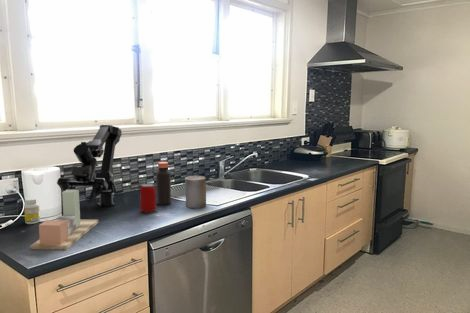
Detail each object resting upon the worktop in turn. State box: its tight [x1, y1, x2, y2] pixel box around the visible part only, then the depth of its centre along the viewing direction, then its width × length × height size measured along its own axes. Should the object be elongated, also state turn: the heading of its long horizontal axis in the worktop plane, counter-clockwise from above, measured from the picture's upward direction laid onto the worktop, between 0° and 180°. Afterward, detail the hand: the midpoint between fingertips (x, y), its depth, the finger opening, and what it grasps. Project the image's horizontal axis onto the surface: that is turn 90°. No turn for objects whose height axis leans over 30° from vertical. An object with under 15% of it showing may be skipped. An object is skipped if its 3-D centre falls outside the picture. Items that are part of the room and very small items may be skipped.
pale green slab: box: [61, 189, 81, 228], centre depth 132 cm, size 17×4×14 cm, turn 179°
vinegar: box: [155, 161, 172, 206], centre depth 178 cm, size 7×7×20 cm
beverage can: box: [139, 183, 157, 213], centre depth 166 cm, size 7×7×12 cm
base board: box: [29, 215, 99, 251], centre depth 136 cm, size 28×12×7 cm, turn 179°
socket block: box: [38, 219, 68, 244], centre depth 125 cm, size 5×7×7 cm
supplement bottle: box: [23, 198, 41, 225], centre depth 149 cm, size 5×5×10 cm
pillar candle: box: [184, 175, 207, 209], centre depth 174 cm, size 10×10×15 cm
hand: (77, 202), depth 144 cm, fingers open, 9 cm apart
